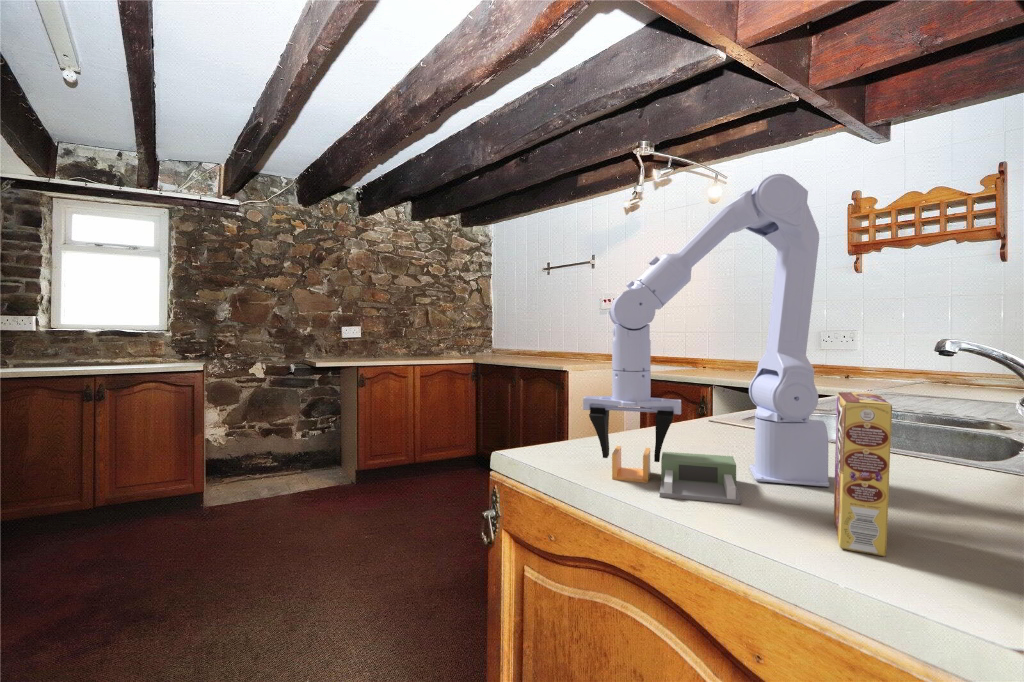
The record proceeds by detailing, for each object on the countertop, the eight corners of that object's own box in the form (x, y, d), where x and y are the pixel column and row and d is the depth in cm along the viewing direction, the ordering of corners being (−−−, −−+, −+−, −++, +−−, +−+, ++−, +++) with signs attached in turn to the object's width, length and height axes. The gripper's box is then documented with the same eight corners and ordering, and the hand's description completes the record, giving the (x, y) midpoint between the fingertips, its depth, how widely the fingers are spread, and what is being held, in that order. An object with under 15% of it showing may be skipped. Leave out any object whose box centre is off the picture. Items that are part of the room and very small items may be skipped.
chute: (650, 473, 81) (650, 448, 81) (647, 483, 76) (647, 456, 75) (616, 470, 82) (616, 445, 82) (612, 480, 77) (612, 454, 77)
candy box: (891, 559, 50) (893, 403, 50) (839, 550, 52) (840, 400, 52) (878, 527, 58) (879, 392, 58) (833, 520, 60) (834, 390, 60)
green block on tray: (732, 479, 76) (732, 456, 76) (740, 504, 66) (740, 477, 66) (662, 474, 79) (662, 451, 79) (659, 496, 69) (659, 471, 69)
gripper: (579, 371, 77) (579, 461, 77) (681, 373, 72) (680, 469, 73) (587, 367, 84) (587, 450, 84) (681, 369, 79) (681, 457, 79)
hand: (631, 458), depth 79 cm, fingers open, 7 cm apart
